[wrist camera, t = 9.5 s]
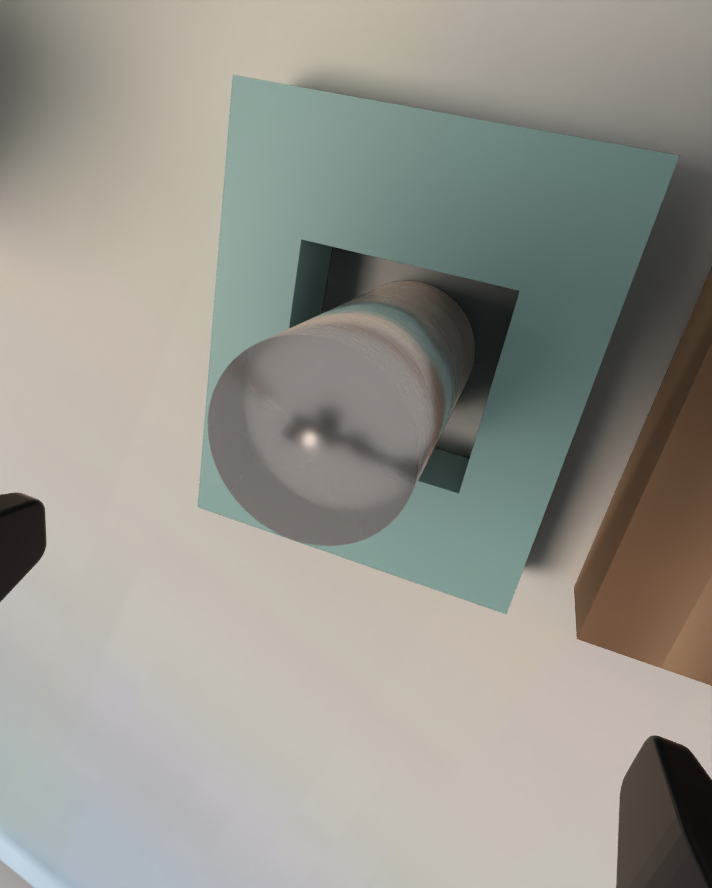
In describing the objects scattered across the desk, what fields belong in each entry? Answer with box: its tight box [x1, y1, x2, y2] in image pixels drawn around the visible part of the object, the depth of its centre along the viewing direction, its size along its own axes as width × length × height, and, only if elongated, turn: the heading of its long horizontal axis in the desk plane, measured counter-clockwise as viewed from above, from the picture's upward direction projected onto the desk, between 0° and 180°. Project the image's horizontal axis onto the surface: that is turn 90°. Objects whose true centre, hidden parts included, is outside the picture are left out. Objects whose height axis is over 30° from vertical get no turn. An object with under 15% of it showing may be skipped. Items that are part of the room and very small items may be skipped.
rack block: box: [198, 75, 680, 614], centre depth 16 cm, size 10×12×2 cm
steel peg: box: [208, 281, 475, 546], centre depth 14 cm, size 4×4×8 cm
